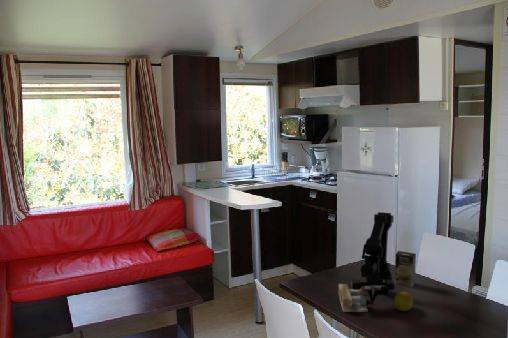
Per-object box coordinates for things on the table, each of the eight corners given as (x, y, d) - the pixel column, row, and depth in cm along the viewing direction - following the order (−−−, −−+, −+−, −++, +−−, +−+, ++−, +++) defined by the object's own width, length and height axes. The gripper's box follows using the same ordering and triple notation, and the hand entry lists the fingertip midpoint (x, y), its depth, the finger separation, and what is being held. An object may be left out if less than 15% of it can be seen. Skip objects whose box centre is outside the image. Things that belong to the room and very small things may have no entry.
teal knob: (364, 302, 207) (364, 292, 206) (366, 306, 202) (366, 296, 202) (343, 302, 207) (343, 292, 207) (344, 306, 203) (344, 296, 203)
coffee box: (394, 284, 231) (394, 253, 229) (397, 280, 236) (397, 250, 234) (412, 287, 226) (413, 256, 224) (415, 283, 231) (416, 253, 229)
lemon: (404, 316, 195) (405, 298, 194) (389, 310, 201) (389, 293, 200) (418, 309, 202) (418, 292, 201) (403, 303, 208) (403, 287, 207)
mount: (361, 295, 217) (361, 284, 217) (367, 311, 200) (367, 299, 199) (338, 295, 218) (338, 283, 218) (342, 311, 201) (342, 299, 200)
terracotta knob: (361, 295, 215) (361, 286, 214) (363, 299, 210) (363, 289, 210) (341, 295, 215) (341, 286, 215) (342, 298, 211) (342, 289, 210)
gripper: (389, 263, 209) (389, 295, 211) (349, 263, 211) (349, 295, 213) (395, 272, 198) (394, 305, 200) (352, 271, 200) (352, 305, 202)
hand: (372, 302), depth 204 cm, fingers closed
